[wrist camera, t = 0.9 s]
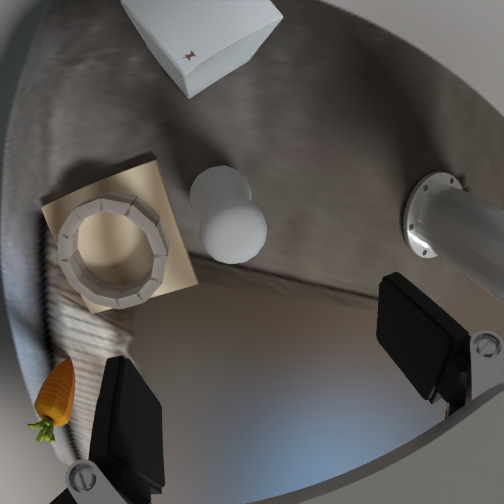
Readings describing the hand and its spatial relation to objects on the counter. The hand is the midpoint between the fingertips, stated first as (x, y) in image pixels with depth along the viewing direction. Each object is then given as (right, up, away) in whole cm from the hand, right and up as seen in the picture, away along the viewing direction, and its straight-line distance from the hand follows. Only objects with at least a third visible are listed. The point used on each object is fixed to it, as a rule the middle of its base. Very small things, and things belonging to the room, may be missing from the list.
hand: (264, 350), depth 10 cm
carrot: (-27, -12, +25) cm, 39 cm away
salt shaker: (-4, +10, +20) cm, 22 cm away
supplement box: (-6, +23, +13) cm, 27 cm away
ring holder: (-15, +4, +19) cm, 25 cm away
